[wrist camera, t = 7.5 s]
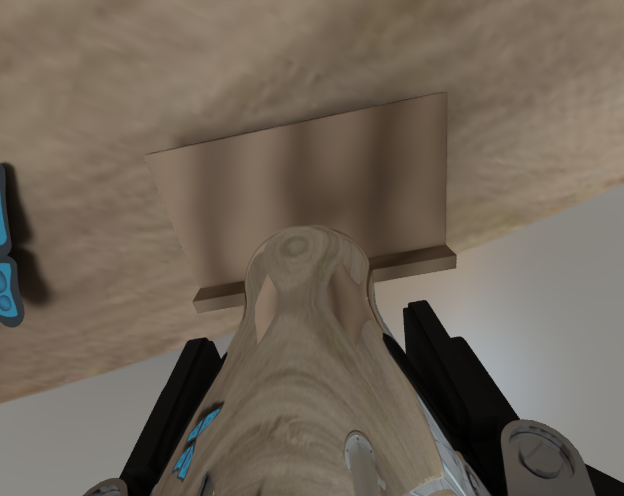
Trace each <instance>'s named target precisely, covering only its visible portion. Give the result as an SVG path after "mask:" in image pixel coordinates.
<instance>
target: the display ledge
mask: <svg viewBox="0 0 624 496" xmlns="http://www.w3.org/2000/svg"><path fill="white" fill-rule="evenodd" d="M143 158H144V160H145V162H146V165H147V167H148V169H149V172H150V174H151V176H152V179H153V181H154V183H155V186H156V188H157V190H158V193H159V195H160V197H161V200H162V202H163V204H164V206H165V209H166V211H167V213H168V216H169V218H170V220H171V223H172V225H173V227H174V230H175V232H176V234H177V237H178V239H179V241H180V244H181V246H182V248H183V251H184V253H185V255H186V257H187V260H188V262H189V264H190V267H191V269H192V271H193V274H194V276H195V278H196V281H197V283H198V285H199V288H200V290H199V291H198V293H197V295H196V297H195V298H194V300H193V304H194V307H195V309H196V311H197V313H202V312H207V311H213V310H219V309H225V308H230V307H236V306H242V305H244V304H245V299H244V283H245V274H246V269H247V266H248V263H249V261H250V258H251V257H252V255H253V253H254V252H255V250H256V249H257V248H258V247H259V246H260V245H261V244H262V243H263V242H264V241H265V240H266V239H267V238H269V237H270V236H272V235H273V234H275V233H277V232H279V231H281V230H283V229H286V228H289V227H293V226H298V225H308V224H311V225H322V226H327V227H330V228H333V229H336V230H339V231H341V232H343V233H345V234H346V235H348V236H349V237H351V238H352V239H353V240H354V241H356V242H357V243H358V244H359V245H360V247H361V248H362V249H363V250H364V252H365V253H366V255H367V257H368V259H369V261H370V264H371V267H372V271H373V277H374V282H380V281H385V280H391V279H397V278H402V277H408V276H414V275H420V274H425V273H431V272H437V271H443V270H448V269H454V268H456V256H457V255H456V254H455V253H454V252H453V251H452V250H451V249H450V248H449V247H448V246H447V245H446V165H447V92H440V93H434V94H429V95H425V96H420V97H415V98H410V99H406V100H401V101H396V102H391V103H387V104H382V105H377V106H372V107H368V108H363V109H358V110H353V111H348V112H344V113H339V114H334V115H329V116H325V117H320V118H315V119H310V120H306V121H301V122H296V123H291V124H287V125H282V126H277V127H272V128H268V129H263V130H258V131H253V132H249V133H244V134H239V135H234V136H230V137H225V138H220V139H215V140H211V141H206V142H201V143H196V144H192V145H187V146H182V147H177V148H173V149H168V150H163V151H158V152H154V153H150V154H147V155H144V156H143Z"/></svg>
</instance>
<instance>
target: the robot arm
mask: <svg viewBox="0 0 624 496" xmlns="http://www.w3.org/2000/svg"><path fill="white" fill-rule="evenodd" d="M403 317H404V332H405V348H406V355H407V356H408V358H409V359H410V361H411V362H412V364H413V365H414V366H415V368H416V369H417V371H418V372H419V374H420V375H421V377H422V378H423V379H424V381H425V382H426V384H427V385H428V387H429V388H430V390H431V391H432V393H433V394H434V396H435V397H436V398H437V400H438V401H439V403H440V404H441V406H442V407H443V409H444V410H445V412H446V413H447V415H448V416H449V418H450V419H451V421H452V422H453V424H454V425H455V427H456V429H457V430H458V432H459V433H460V435H461V437H462V438H463V440H464V442H465V443H466V445H467V446H468V448H469V450H470V451H471V453H472V454H473V456H474V458H475V459H476V461H477V463H478V464H479V466H480V467H481V469H482V471H483V472H484V474H485V475H486V477H487V479H488V480H489V482H490V483H491V485H492V487H493V488H494V490H495V492H496V493H497V495H498V496H624V483H622V482H620V481H618V480H617V479H614V478H613V477H611V476H609V475H607V474H604V473H603V472H601V471H599V470H597V469H595V468H593V467H591V466H589V465H587V464H585V463H584V461H583V459H582V457H581V456H580V454H579V452H578V450H577V449H576V448H575V447H574V446H573V444H572V443H571V442H570V441H569V440H568V439H567V438H566V437H564V436H563V435H562V434H560V433H559V432H558V431H556V430H555V429H553V428H551V427H549V426H547V425H546V424H543V423H540V422H536V421H533V420H524V419H521V420H520V418H519V417H518V416H517V414H516V413H515V411H514V410H513V408H512V407H511V405H510V404H509V403H508V401H507V400H506V398H505V397H504V395H503V394H502V393H501V391H500V390H499V388H498V387H497V385H496V384H495V382H494V381H493V379H492V378H491V377H490V375H489V374H488V372H487V371H486V369H485V368H484V366H483V365H482V364H481V362H480V361H479V359H478V358H477V356H476V355H475V353H474V352H473V350H472V349H471V348H470V346H469V345H468V343H467V342H466V341H465V340H464V338H462V337H453V338H450V336H449V335H448V333H447V332H446V330H445V328H444V327H443V325H442V324H441V322H440V321H439V319H438V318H437V316H436V314H435V313H434V311H433V310H432V308H431V306H430V305H429V303H428V302H427V301H426V300H422V301H416V302H411V303H408V308H404V309H403ZM220 360H221V358H220V356H219V353H218V351H217V349H216V347H215V344H214V343H213V341H209V340H208V339H207V338H205V337H204V338H198V339H193V340H189V341H188V342H187V343H186V345H185V347H184V349H183V351H182V353H181V355H180V357H179V359H178V361H177V363H176V366H175V368H174V369H173V372H172V374H171V376H170V378H169V380H168V382H167V384H166V386H165V387H164V389H163V391H162V392H161V394H160V396H159V398H158V400H157V403H156V404H155V406H154V409H153V411H152V412H151V414H150V416H149V419H148V421H147V423H146V425H145V427H144V429H143V431H142V433H141V435H140V437H139V439H138V441H137V443H136V445H135V447H134V449H133V451H132V453H131V455H130V457H129V459H128V461H127V463H126V465H125V467H124V469H123V471H122V473H121V475H120V477H119V478H111V479H107V480H105V481H102V482H100V483H99V484H97V485H95V486H94V487H92V488H91V489H89V490H88V491H87V492H86V493H85V494H84V495H83V496H148V494H149V492H150V490H151V488H152V486H153V484H154V482H155V480H156V478H157V476H158V474H159V472H160V470H161V468H162V467H163V465H164V463H165V461H166V459H167V457H168V455H169V453H170V451H171V449H172V447H173V445H174V443H175V441H176V439H177V437H178V435H179V433H180V431H181V429H182V427H183V426H184V424H185V422H186V420H187V419H188V417H189V415H190V413H191V411H192V410H193V408H194V406H195V404H196V403H197V401H198V399H199V397H200V395H201V394H202V392H203V390H204V388H205V386H206V385H207V383H208V381H209V379H210V378H211V376H212V374H213V372H214V371H215V369H216V367H217V366H218V364H219V362H220Z"/></svg>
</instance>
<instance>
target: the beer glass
mask: <svg viewBox="0 0 624 496" xmlns="http://www.w3.org/2000/svg"><path fill="white" fill-rule="evenodd" d="M244 299H245V304H244V312H243V316H242V319H241V322H240V325H239V327H238V329H237V331H236V333H235V335H234V337H233V339H232V341H231V343H230V345H229V346H228V348H227V350H226V352H225V353H224V355H223V357H222V359H221V360H220V362H219V364H218V366H217V367H216V369H215V371H214V372H213V374H212V376H211V378H210V379H209V381H208V383H207V385H206V386H205V388H204V390H203V392H202V394H201V395H200V397H199V399H198V401H197V403H196V404H195V406H194V408H193V410H192V411H191V413H190V415H189V417H188V419H187V420H186V422H185V424H184V426H183V427H182V429H181V431H180V433H179V435H178V437H177V439H176V441H175V443H174V445H173V447H172V449H171V451H170V453H169V455H168V457H167V459H166V461H165V463H164V465H163V467H162V468H161V470H160V472H159V474H158V476H157V478H156V480H155V482H154V484H153V486H152V488H151V490H150V492H149V494H148V496H498V495H497V493H496V492H495V490H494V488H493V487H492V485H491V483H490V482H489V480H488V479H487V477H486V475H485V474H484V472H483V471H482V469H481V467H480V466H479V464H478V463H477V461H476V459H475V458H474V456H473V454H472V453H471V451H470V450H469V448H468V446H467V445H466V443H465V442H464V440H463V438H462V437H461V435H460V433H459V432H458V430H457V429H456V427H455V425H454V424H453V422H452V421H451V419H450V418H449V416H448V415H447V413H446V412H445V410H444V409H443V407H442V406H441V404H440V403H439V401H438V400H437V398H436V397H435V396H434V394H433V393H432V391H431V390H430V388H429V387H428V385H427V384H426V382H425V381H424V379H423V378H422V377H421V375H420V374H419V372H418V371H417V369H416V368H415V366H414V365H413V364H412V362H411V361H410V359H409V358H408V356H407V355H406V354H405V352H404V351H403V349H402V348H401V347H400V345H399V344H398V342H397V341H396V339H395V338H394V336H393V335H392V333H391V332H390V330H389V329H388V327H387V326H386V324H385V323H384V321H383V319H382V317H381V315H380V313H379V311H378V308H377V305H376V299H375V286H374V277H373V271H372V267H371V264H370V261H369V259H368V257H367V255H366V253H365V252H364V250H363V249H362V248H361V247H360V245H359V244H358V243H357V242H356V241H354V240H353V239H352V238H351V237H349V236H348V235H346V234H345V233H343V232H341V231H339V230H336V229H333V228H330V227H327V226H322V225H311V224H308V225H298V226H293V227H289V228H286V229H283V230H281V231H279V232H277V233H275V234H273V235H272V236H270V237H269V238H267V239H266V240H265V241H264V242H263V243H262V244H261V245H260V246H259V247H258V248H257V249H256V250H255V252H254V253H253V255H252V257H251V258H250V261H249V263H248V266H247V269H246V274H245V283H244Z"/></svg>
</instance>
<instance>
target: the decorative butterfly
mask: <svg viewBox="0 0 624 496" xmlns="http://www.w3.org/2000/svg"><path fill="white" fill-rule="evenodd" d="M11 247H12V244H11V238H10V231H9V224H8V217H7V209H6V198H5V169H4V167H3V165H1V164H0V322H1V323H3V324H4V325H5V326H8V327H16V326H18V325H20V323H21V322H22V321H23V318H24V314H25V313H24V305H23V302H22V299H21V295H20V291H19V288H18V277H17V263H16V262H15V261H14V259H13V258H11V257H9V256H6V255H8V253H9V252H10V250H11Z"/></svg>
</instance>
